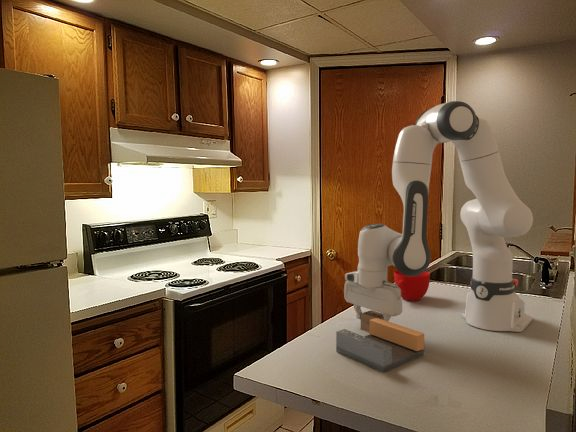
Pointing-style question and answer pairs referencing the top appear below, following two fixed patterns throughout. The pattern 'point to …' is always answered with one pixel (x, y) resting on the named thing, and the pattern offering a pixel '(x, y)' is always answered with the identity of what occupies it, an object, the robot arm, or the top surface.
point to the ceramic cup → (412, 285)
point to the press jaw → (397, 334)
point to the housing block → (369, 318)
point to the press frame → (374, 350)
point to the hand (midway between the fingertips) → (371, 322)
